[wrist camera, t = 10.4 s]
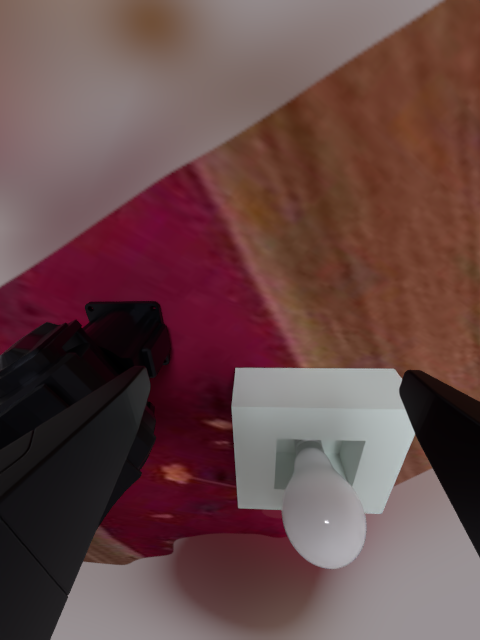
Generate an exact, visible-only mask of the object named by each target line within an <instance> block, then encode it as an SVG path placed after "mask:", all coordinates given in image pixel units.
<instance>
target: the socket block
mask: <svg viewBox="0 0 480 640" xmlns="http://www.w3.org/2000/svg"><path fill="white" fill-rule="evenodd" d="M401 382H402V379H401V377H400V376H399V375H398V373H397V372H396V371H395V369H351V368H235V378H234V387H233V397H232V406H231V408H232V423H233V438H234V453H235V468H236V483H237V498H238V508H245V509H270V510H282V509H281V508H282V498H283V494H284V491H285V488H286V486H287V484H288V482H289V480H290V478H291V477H292V475H293V472H294V461H295V458H296V451H295V444H294V439H299V440H321V443H322V447H323V450H324V453H325V454H326V456H327V457H328V458H329V460H330V462H331V464H332V466H333V468H334V469H335V470H336V471H337V472H338V473H339V474H340V475H341V476H342V477H343V478H344V479H345V480H346V481H347V482H348V483H349V484H350V485H351V486H352V487H353V489H354V490H355V492H356V493H357V495H358V497H359V499H360V501H361V503H362V505H363V509H364V512H365V513H373V514H382V512H383V510H384V507H385V505H386V502H387V500H388V497H389V495H390V493H391V490H392V488H393V486H394V483H395V481H396V478H397V476H398V474H399V471H400V469H401V466H402V464H403V461H404V459H405V457H406V454H407V452H408V449H409V447H410V445H411V442H412V440H413V437H414V435H415V432H414V430H413V427H412V425H411V422H410V420H409V417H408V415H407V412H406V410H405V407H404V405H403V402H402V400H401V397H400V394H399V387H400V385H401Z"/></svg>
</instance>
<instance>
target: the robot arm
mask: <svg viewBox="0 0 480 640" xmlns="http://www.w3.org/2000/svg"><path fill="white" fill-rule="evenodd" d="M90 306H91V307H93V309H94V310H93V309H91V307H90ZM152 306H154V307H155V308H156V309H153V308H152ZM85 310H86V313H87V316H88V319H89V323H88V324H87V325H86V326H84V327H83V328H81V326H82V325H81V324H80V323H79V322H78V321H77V320H74V321H72V322H70V323H68V324H67V323H64V324H62V325H56V324H52V323H48V322H46V323H45V324H43V325H41V326H39V327H38V328H36V329H35V330H33V331H32V332H30V333H29V334H27V335H26V336H24V337H23V338H21V339H20V340H19V341H17V342H16V343H15V344H14V345H12V346H11V347H10V348H9V349H8V350H6V351H5V352H4V353H3V354H2V355H0V640H50V639H51V636H52V634H53V632H54V629H55V627H56V624H57V622H58V619H59V617H60V615H61V612H62V610H63V608H64V605H65V603H66V601H67V598H68V596H67V595H69V593H70V591H71V588H72V586H73V584H74V581H75V579H76V576H77V574H78V572H79V569H80V567H81V564H82V562H83V560H84V558H85V555H86V553H87V550H88V548H89V546H90V543H91V541H92V539H93V536H94V534H95V531H96V530H97V528H98V527H99V525H100V524H101V522H102V521H103V519H104V517H105V516H106V515H107V513H108V512H109V510H110V509H111V508H112V506H113V505H114V504H115V503H116V501H117V500H118V499H119V498H120V497H121V495H122V494H123V493H124V492H125V491H126V490H127V489H128V488H129V487H130V486H131V485H132V484H133V483H134V482H136V481H137V480H138V479H139V478H140V476H141V474H142V472H141V471H140V469H141V468H142V467H143V465H144V464H145V462H146V460H147V458H148V456H149V454H150V452H151V450H152V447H153V445H154V443H155V440H156V436H155V435H154V434H153V433H154V429H155V423H156V419H155V416H154V409H155V407H154V406H153V404H152V403H151V402H148V401H147V399H148V396H149V392H150V380H149V379H150V378H155V377H156V376H157V374H158V372H159V370H160V368H161V366H162V365H167V364H168V363H169V361H170V355H169V351H170V349H171V348H170V342H169V337H168V332H167V326H166V325H165V324H163V319H162V314H161V308H160V305H159V304H158V303H157V302H155V301H126V302H89V303H88V304H86V305H85ZM165 359H166V361H165ZM399 394H400V397H401V400H402V402H403V405H404V407H405V410H406V412H407V415H408V417H409V420H410V422H411V425H412V427H413V430H414V432H415V434H416V437H417V439H418V441H419V443H420V445H421V447H422V449H423V451H424V452H425V454H426V456H427V458H428V460H429V462H430V464H431V466H432V468H433V470H434V471H435V473H436V475H437V477H438V479H439V481H440V483H441V485H442V487H443V489H444V490H445V492H446V494H447V496H448V498H449V500H450V502H451V504H452V505H453V508H454V509H455V511H456V513H457V515H458V517H459V519H460V521H461V523H462V525H463V527H464V528H465V530H466V532H467V534H468V536H469V538H470V540H471V542H472V544H473V546H474V548H475V549H476V551H477V553H478V555H479V557H480V402H479V401H477V400H475V399H473V398H472V397H470V396H468V395H466V394H464V393H462V392H460V391H458V390H456V389H455V388H453V387H451V386H449V385H447V384H445V383H443V382H441V381H440V380H438V379H436V378H434V377H432V376H430V375H428V374H426V373H425V372H423V371H420V370H407V371H406V372H405V373H404V376H403V379H402V382H401V385H400V387H399Z"/></svg>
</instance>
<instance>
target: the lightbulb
mask: <svg viewBox="0 0 480 640" xmlns="http://www.w3.org/2000/svg"><path fill="white" fill-rule="evenodd" d="M294 444H295V451H296V458H295V461H294V472H293V475H292V477H291V478H290V480H289V482H288V484H287V486H286V488H285V491H284V494H283V498H282V508H281V509H282V520H283V524H284V528H285V531H286V533H287V536H288V538H289V540H290V542H291V543H292V545H293V546H294V548H295V549H296V550H297V551H298V552H299V554H300V555H301V556H302V557H304V558H305V559H306V560H307V561H309V562H310V563H312V564H314V565H316V566H319V567H322V568H327V569H337V568H341V567H344V566H346V565H348V564H350V563H351V562H352V561H354V560H355V559H356V557H357V556H358V555H359V554H360V552H361V550H362V548H363V545H364V542H365V538H366V517H365V512H364V509H363V505H362V503H361V501H360V499H359V497H358V495H357V493H356V492H355V490H354V489H353V487H352V486H351V485H350V484H349V483H348V482H347V481H346V480H345V479H344V478H343V477H342V476H341V475H340V474H339V473H338V472H337V471H336V470H335V469H334V468H333V466H332V464H331V462H330V460H329V458H328V457H327V456H326V454H325V453H324V450H323V447H322V443H321V440H299V439H294Z"/></svg>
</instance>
